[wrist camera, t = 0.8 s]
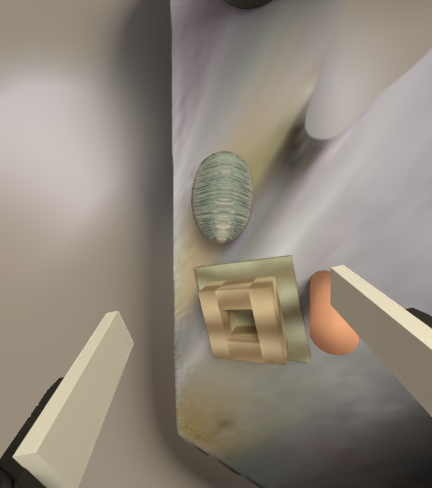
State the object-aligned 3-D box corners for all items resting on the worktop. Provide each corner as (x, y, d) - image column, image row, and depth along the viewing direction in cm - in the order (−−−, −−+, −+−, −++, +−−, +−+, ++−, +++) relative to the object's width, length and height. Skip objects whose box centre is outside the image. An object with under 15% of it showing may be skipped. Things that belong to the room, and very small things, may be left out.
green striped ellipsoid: (194, 147, 33) (188, 152, 24) (252, 150, 34) (268, 156, 25) (193, 225, 39) (189, 251, 31) (242, 227, 40) (252, 253, 31)
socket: (196, 266, 41) (179, 276, 35) (291, 255, 33) (287, 265, 28) (216, 350, 42) (202, 371, 37) (310, 358, 35) (310, 386, 29)
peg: (307, 271, 32) (306, 315, 20) (337, 269, 31) (355, 315, 18) (312, 295, 33) (313, 353, 20) (341, 294, 31) (362, 356, 18)
